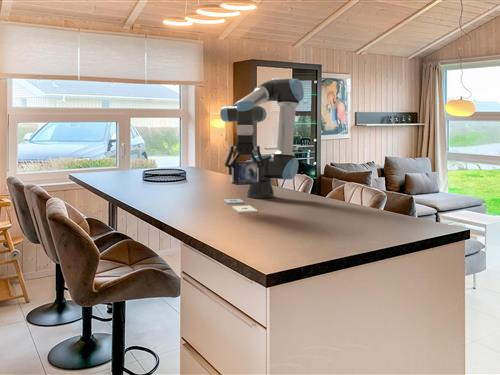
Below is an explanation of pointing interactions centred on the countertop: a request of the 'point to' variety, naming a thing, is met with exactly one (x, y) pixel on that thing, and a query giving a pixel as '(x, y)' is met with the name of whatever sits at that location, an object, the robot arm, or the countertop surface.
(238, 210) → the pad
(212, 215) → the countertop surface
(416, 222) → the countertop surface
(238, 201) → the pad
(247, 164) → the small box
